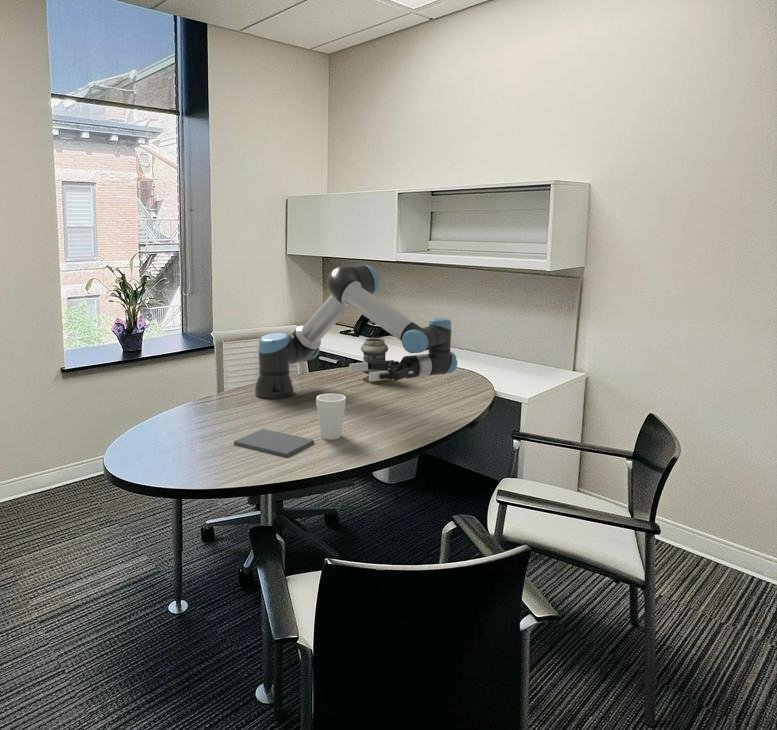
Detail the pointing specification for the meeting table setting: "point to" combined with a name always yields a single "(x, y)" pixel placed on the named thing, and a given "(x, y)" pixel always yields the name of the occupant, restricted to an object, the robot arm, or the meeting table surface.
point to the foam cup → (330, 414)
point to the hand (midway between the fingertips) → (359, 372)
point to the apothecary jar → (374, 354)
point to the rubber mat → (274, 442)
